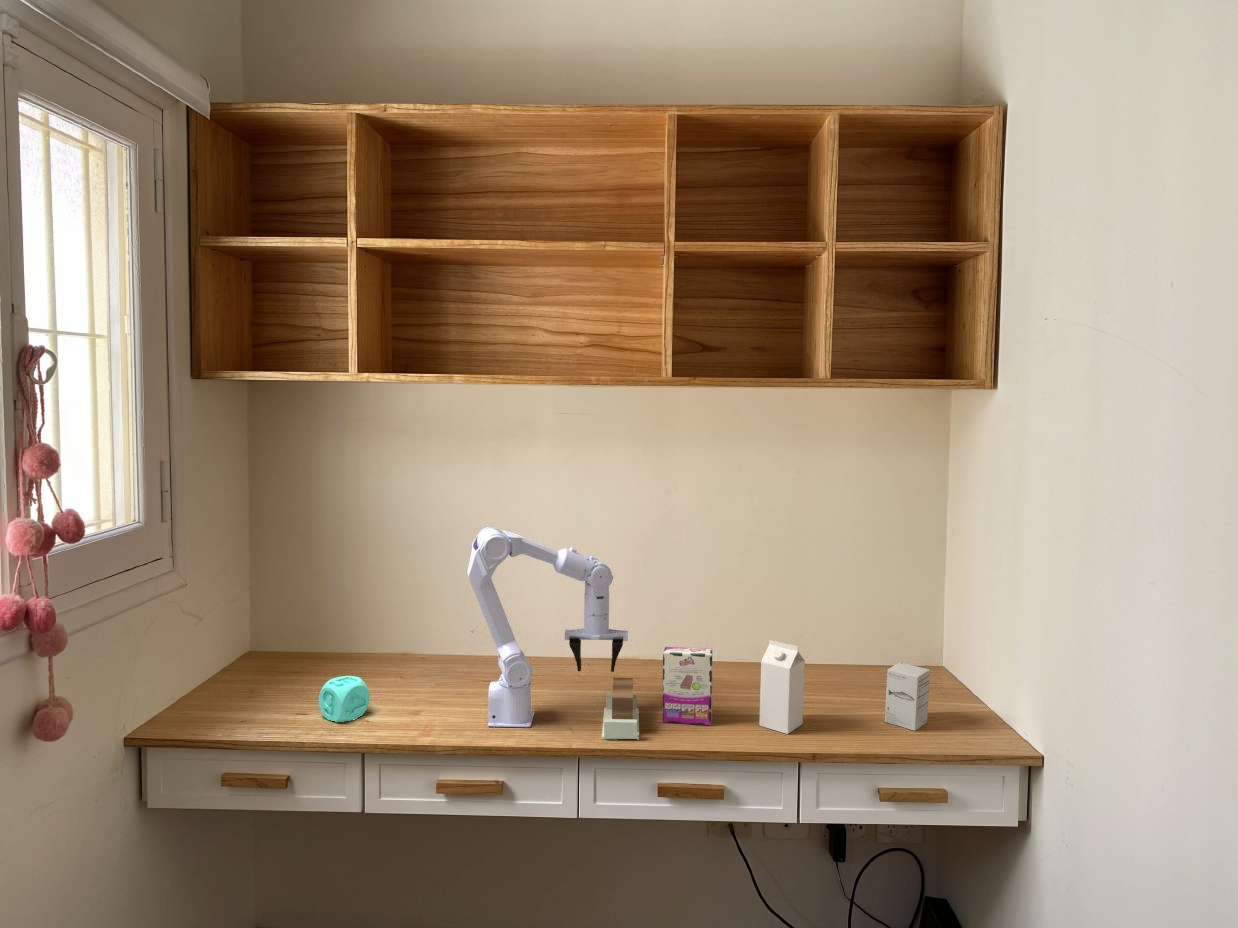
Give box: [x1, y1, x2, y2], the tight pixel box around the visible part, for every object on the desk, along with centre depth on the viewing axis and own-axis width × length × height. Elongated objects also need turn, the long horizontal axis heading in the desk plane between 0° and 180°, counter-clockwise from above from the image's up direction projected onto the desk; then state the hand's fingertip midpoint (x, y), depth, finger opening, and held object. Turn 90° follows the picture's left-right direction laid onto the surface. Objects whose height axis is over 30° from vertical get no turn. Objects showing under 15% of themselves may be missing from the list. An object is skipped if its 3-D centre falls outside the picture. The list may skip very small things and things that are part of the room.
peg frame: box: [601, 691, 640, 741], centre depth 183 cm, size 17×8×4 cm, turn 179°
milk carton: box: [759, 639, 806, 735], centre depth 183 cm, size 7×7×19 cm
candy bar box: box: [661, 646, 713, 726], centre depth 186 cm, size 11×5×16 cm, turn 82°
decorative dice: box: [318, 675, 371, 723], centre depth 186 cm, size 8×8×8 cm
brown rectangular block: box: [611, 677, 634, 719], centre depth 183 cm, size 12×4×6 cm, turn 179°
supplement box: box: [884, 662, 932, 732], centre depth 186 cm, size 7×7×13 cm
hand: (596, 670), depth 190 cm, fingers open, 7 cm apart
